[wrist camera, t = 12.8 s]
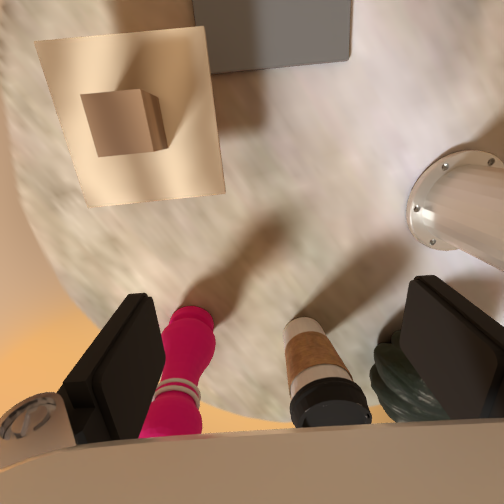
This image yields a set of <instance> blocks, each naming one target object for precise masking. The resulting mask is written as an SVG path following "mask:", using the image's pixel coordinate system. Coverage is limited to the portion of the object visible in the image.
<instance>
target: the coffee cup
mask: <svg viewBox="0 0 504 504" xmlns="http://www.w3.org/2000/svg"><path fill="white" fill-rule="evenodd" d="M283 339H284V347H285V357H286V366H287V376H288V385H289V395H290V398H291V400H292V401H291V403H290V414H291V419H292V422H293V424H294V425H295V427H296V428H308V427H325V426H343V425H361V424H371V422H372V415H371V413H370V411H369V408H368V405H367V400H366V397H365V395H364V393H363V391H362V389H361V388H360V387H359V386H358V385H357V384H356V383H355V382H353V379H352V376H351V374H350V373H349V371H348V369H347V368H346V366H345V365H344V363H343V361H342V360H341V358H340V357H339V355H338V353H337V352H336V350H335V349H334V347H333V345H332V344H331V342H330V341H329V339H328V338H327V336H326V334H325V333H324V331H323V329H322V328H321V326H320V324H319V323H318V322H317V321H316V320H314V319H312V318H308V317H301V318H297V319H294V320H292V321H291V322H289V323H288V324H287V325H286V327H285V329H284V331H283Z"/></svg>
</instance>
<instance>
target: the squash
mask: <svg viewBox="0 0 504 504" xmlns="http://www.w3.org/2000/svg"><path fill="white" fill-rule="evenodd" d="M400 334H401V330H398V331H395V332H394V333H393V335H392V337H391V344H390V343H381V344H379V345H377V346H376V348H375V350H374V360H375V364H374V365H373V366H372V368H371V370H370V379H371V387H372V389H373V390H374V391H375V393H376V394H377V396H378V399H379V402H380V404H381V406H382V407H383V409H384V410H385V412H386V413H387V414H388V416H389V417H390V418H391V419H393V420H394V421H395V422H396V423H399V422H419V421H439V420H451V419H450V417H449V416H448V414H447V413H446V412H445V410H444V409H443V407H442V406H441V405H440V403H439V402H438V400H437V399H436V398H435V396H434V395H433V393H432V392H431V391H430V389H429V388H428V386H427V385H426V384H425V382H424V381H423V379H422V378H421V377H420V375H419V374H418V372H417V371H416V370H415V368H414V367H413V365H412V364H411V362H410V361H409V360H408V358H407V357H406V355H405V354H404V353H403V351H402V350H401V347H400V342H399V341H400Z"/></svg>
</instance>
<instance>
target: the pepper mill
mask: <svg viewBox="0 0 504 504" xmlns="http://www.w3.org/2000/svg"><path fill="white" fill-rule="evenodd" d="M213 328H214V322H213V319H212V317H211V315H210V314H209V313H208V312H207V311H206V310H204V309H202V308H200V307H196V306H186V307H182V308H180V309H178V310H177V311H176V312H174V314H173V315H172V317H171V319H170V322H169V325H168V326H167V327H166V328H165V329H164V331H163V332H162V334H161V337H162V341H163V346H164V350H165V355H166V361H165V366H164V368H163V373H162V378H161V381H160V383H159V384H158V385H157V388H156V391H155V394H154V396H153V399H152V402H151V405H150V407H149V410H148V413H147V416H146V419H145V421H144V424H143V427H142V430H141V433H140V435H139V438H151V437H163V436H176V435H192V434H201V432H202V418H201V414H200V412H199V406H200V399H201V395H200V391H199V389H198V388H197V386H198V381H199V378H200V376H201V375H202V373H203V371H204V370H205V369H206V367H207V366H208V365H209V363H210V361H211V359H212V357H213V354H214V351H215V345H216V342H215V336H214V334H213Z"/></svg>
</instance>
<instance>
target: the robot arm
mask: <svg viewBox="0 0 504 504" xmlns="http://www.w3.org/2000/svg"><path fill="white" fill-rule="evenodd" d="M406 219H407V223H408V227H409V229H410V231H411V233H412V235H413V236H414V237H415V238H416V239H417V240H418V241H419V242H421V243H422V244H424V245H425V246H427V247H429V248H432V249H436V250H442V251H449V250H456V249H460V250H462V251H464V252H466V253H468V254H470V255H472V256H474V257H476V258H478V259H480V260H482V261H484V262H486V263H487V264H489V265H491V266H493V267H495V268H497V269H499V270H501V271H503V272H504V163H503V162H502V161H501V160H500V159H499V158H498V157H497V156H495V155H493V154H491V153H489V152H484V151H479V150H465V151H458V152H455V153H452V154H449V155H447V156H445V157H443V158H441V159H439V160H438V161H437V162H435V163H434V164H432V165H431V166H430V167H429V168H428V169H427V170H426V171H425V172H424V173H423V174H422V175H421V177H420V178H419V179H418V180H417V182H416V184H415V185H414V187H413V189H412V191H411V193H410V196H409V199H408V203H407V209H406ZM399 342H400V347H401V350H402V351H403V353H404V354H405V355H406V357H407V358H408V360H409V361H410V362H411V364H412V365H413V367H414V368H415V370H416V371H417V372H418V374H419V375H420V377H421V378H422V379H423V381H424V382H425V384H426V385H427V386H428V388H429V389H430V391H431V392H432V393H433V395H434V396H435V398H436V399H437V400H438V402H439V403H440V405H441V406H442V407H443V409H444V410H445V412H446V413H447V414H448V416H449V417H450V419H451V420H439V421H419V422H399V423H381V424H361V425H343V426H325V427H308V428H291V429H274V430H257V431H241V432H224V433H208V434H192V435H176V436H163V437H151V438H139V435H140V433H141V430H142V427H143V424H144V421H145V419H146V416H147V413H148V410H149V407H150V405H151V402H152V399H153V396H154V394H155V391H156V388H157V385H158V382H159V380H160V377H161V374H162V371H163V368H164V366H165V361H166V355H165V350H164V346H163V341H162V337H161V333H160V328H159V324H158V320H157V315H156V311H155V306H154V302H153V299H152V297H148V296H147V294H146V293H136V294H128V295H127V297H126V298H125V299H124V301H123V302H122V303H121V305H120V306H119V307H118V309H117V310H116V311H115V313H114V314H113V315H112V317H111V318H110V320H109V321H108V322H107V324H106V325H105V326H104V328H103V329H102V330H101V332H100V333H99V334H98V336H97V337H96V338H95V340H94V341H93V343H92V344H91V345H90V346H89V348H88V349H87V350H86V352H85V353H84V354H83V356H82V357H81V358H80V360H79V361H78V362H77V364H76V365H75V367H74V368H73V370H72V371H71V372H70V373H69V375H68V376H67V378H66V379H65V380H64V381H63V385H62V386H61V387H60V389H59V390H58V391H57V393H54V392H45V393H40V394H36V395H34V396H32V397H29V398H27V399H25V400H23V401H22V402H20V403H18V404H16V405H15V406H13V407H12V408H11V409H10V410H8V411H7V412H6V413H5V414H4V415H3V416H2V417H1V418H0V504H504V327H503V326H502V325H500V324H499V323H498V322H496V321H495V320H494V319H492V318H491V317H490V316H488V315H487V314H486V313H484V312H483V311H482V310H480V309H479V308H478V307H477V306H475V305H474V304H473V303H471V302H470V301H469V300H467V299H466V298H465V297H463V296H462V295H461V294H459V293H458V292H457V291H455V290H454V289H453V288H451V287H450V286H449V285H447V284H446V283H445V282H443V281H442V280H441V279H439V278H438V277H437V276H435V275H425V276H416V277H415V278H414V280H412V281H410V283H409V287H408V293H407V299H406V305H405V311H404V317H403V323H402V328H401V334H400V341H399Z"/></svg>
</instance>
